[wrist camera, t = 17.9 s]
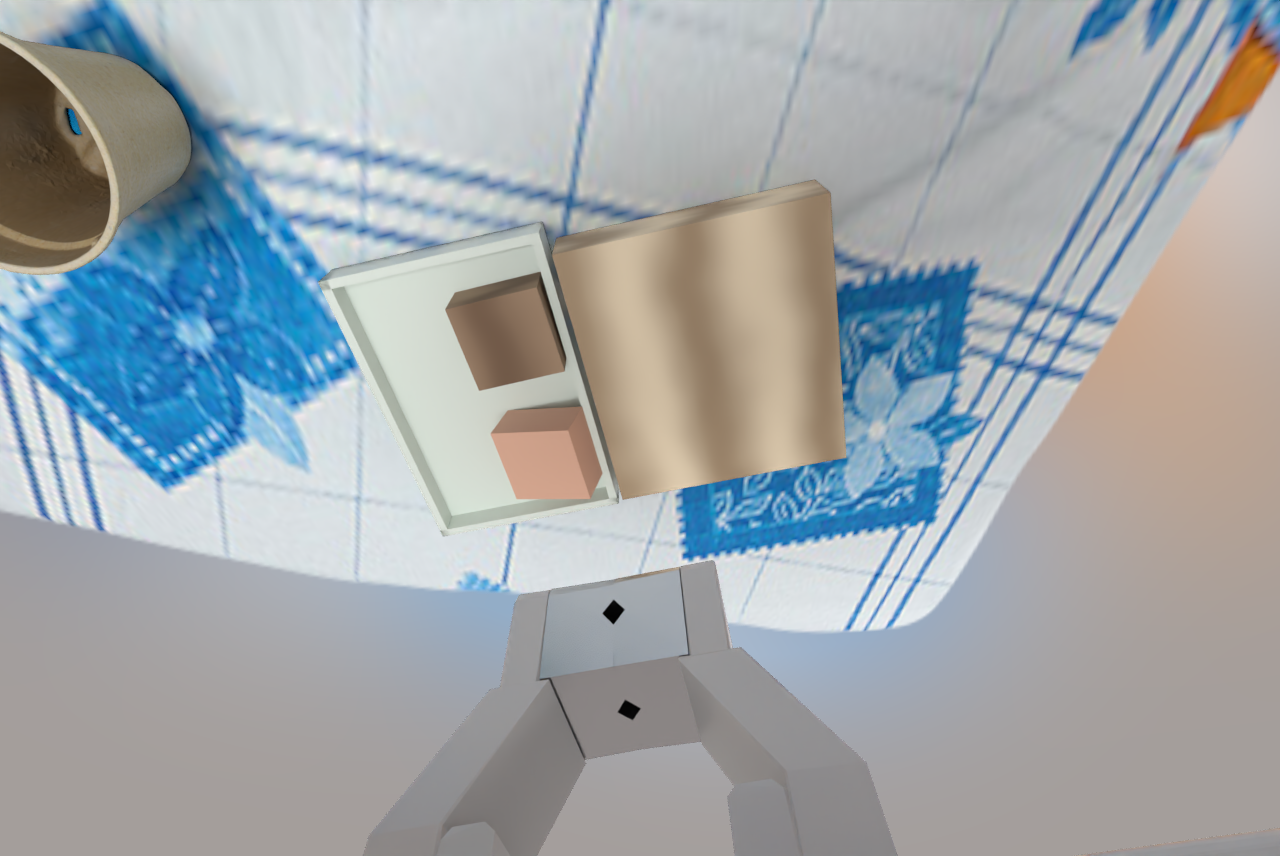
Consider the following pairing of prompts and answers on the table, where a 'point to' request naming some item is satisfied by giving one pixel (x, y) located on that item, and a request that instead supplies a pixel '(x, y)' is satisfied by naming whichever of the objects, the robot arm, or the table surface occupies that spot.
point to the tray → (458, 374)
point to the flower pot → (78, 152)
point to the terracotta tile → (548, 453)
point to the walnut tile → (507, 331)
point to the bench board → (711, 338)
